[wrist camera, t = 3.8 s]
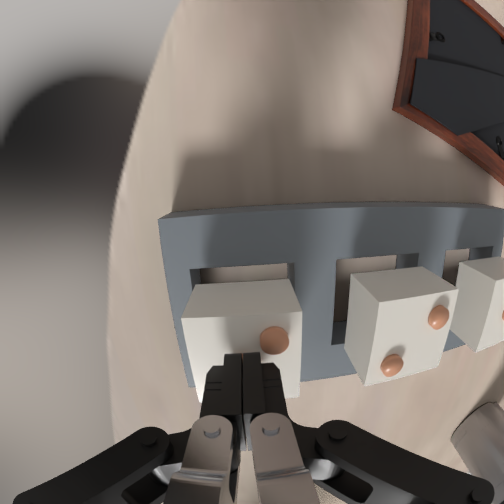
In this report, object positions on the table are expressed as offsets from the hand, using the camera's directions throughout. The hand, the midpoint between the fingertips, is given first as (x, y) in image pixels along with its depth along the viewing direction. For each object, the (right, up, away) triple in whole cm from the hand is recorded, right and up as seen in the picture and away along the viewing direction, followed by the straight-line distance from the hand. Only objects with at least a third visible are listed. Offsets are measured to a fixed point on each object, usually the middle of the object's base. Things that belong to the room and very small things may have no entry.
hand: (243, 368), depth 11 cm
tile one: (+17, +2, +5) cm, 18 cm away
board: (+8, +3, +8) cm, 12 cm away
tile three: (0, +1, +5) cm, 5 cm away
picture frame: (+25, +21, +5) cm, 33 cm away
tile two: (+8, +2, +5) cm, 10 cm away
